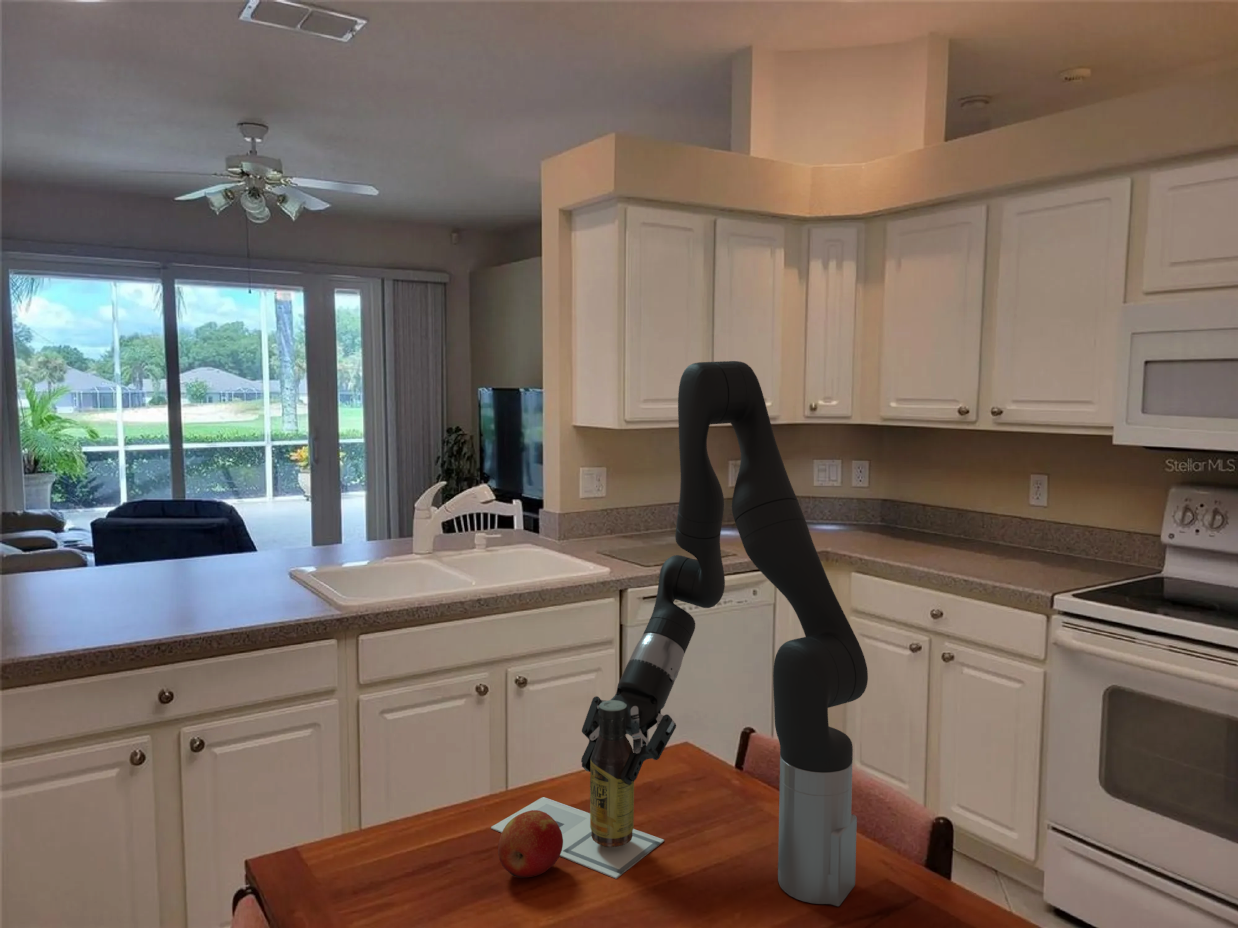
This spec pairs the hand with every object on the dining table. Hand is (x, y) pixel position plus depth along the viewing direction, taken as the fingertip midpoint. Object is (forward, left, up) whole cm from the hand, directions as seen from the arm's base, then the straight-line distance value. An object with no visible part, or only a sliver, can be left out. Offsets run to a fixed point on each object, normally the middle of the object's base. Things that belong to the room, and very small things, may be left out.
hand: (605, 775), depth 118 cm
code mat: (+6, -2, -11) cm, 13 cm away
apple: (+5, +10, -11) cm, 16 cm away
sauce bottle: (0, -2, -10) cm, 10 cm away
